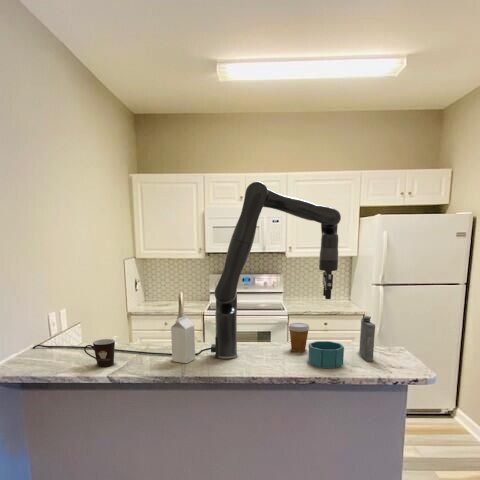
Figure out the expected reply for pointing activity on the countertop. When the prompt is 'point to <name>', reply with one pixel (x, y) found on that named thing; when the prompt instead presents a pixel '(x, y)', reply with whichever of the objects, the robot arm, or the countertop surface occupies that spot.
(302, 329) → the disposable coffee cup
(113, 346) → the coffee mug
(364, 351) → the flask
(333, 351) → the teal octagonal bowl
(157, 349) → the countertop surface
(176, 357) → the milk carton
